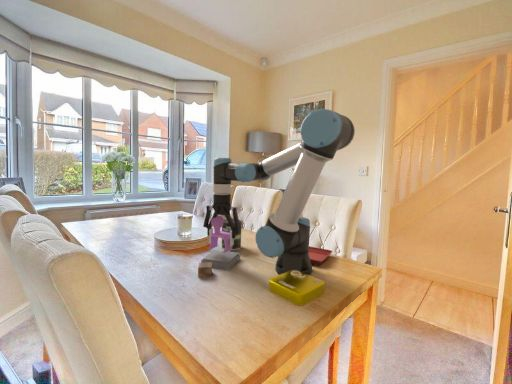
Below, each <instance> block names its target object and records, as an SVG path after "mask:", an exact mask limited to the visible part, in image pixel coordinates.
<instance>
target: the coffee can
mask: <svg viewBox="0 0 512 384" xmlns="http://www.w3.org/2000/svg"><path fill="white" fill-rule="evenodd" d="M232 220H233V222H234V218H232ZM242 223H243V220H240V219H239V224H240V229H239V230H237V231H236V237H235V238H234V245H233V246H232V250H230V251H229V252H234V251H238V250H240V249H241V248H242ZM234 225H235V223H234ZM221 231H223V232H228V233H230V231H232V230H231V228H230V225H229V223H228V221H227V219H224V223H223V226H222V227H221ZM221 249H222V250H224V249H225V242H224V240H223V239H222V238H221Z"/></svg>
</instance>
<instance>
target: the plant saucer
mask: <svg viewBox="0 0 512 384" xmlns="http://www.w3.org/2000/svg"><path fill="white" fill-rule="evenodd" d="M332 253H333V250H330V249H325V248H320V247H315V246H310V245H309V257H310V261H311V265H313V266H318V267H319V266H320V265H321V264H322V263H323V262H325V260H326V259H328V257H330V256H331V255H332Z"/></svg>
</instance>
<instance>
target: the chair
mask: <svg viewBox="0 0 512 384" xmlns="http://www.w3.org/2000/svg"><path fill="white" fill-rule="evenodd" d="M212 217H213V216H212ZM211 219H212V218H211ZM224 220H225V219H224V217H223V216H222V215H218V216H217V217H216V218H214V217H213V219H212V221H211V224H212V228H213V234H211V244H210V245H209V248H208V249H207V250H212V249H214V248H217V247H219V246H218V245H219V244H218V243H219V242H218V241H219V239H221V240H222V239H223V240H224V242H225V249H223V251H224V252H223V253H225V252H231V251H230V250H232V246H230V233H228V232H223V231H222V230H221V229H222V226H223V223H224Z"/></svg>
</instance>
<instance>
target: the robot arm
mask: <svg viewBox="0 0 512 384" xmlns="http://www.w3.org/2000/svg"><path fill="white" fill-rule="evenodd" d="M355 132H356V131H355V126H354V123H353V122H352V120H351V119H350V118H349V117H347V116H346V115H343V114H341V113H339V112H336V111H334V110H331V109H326V108H319V109H315V110H313V111H311V112H309V113H308V114H307V115H306V116H305V118H304V119H303V121H302V123H301V125H300V135H301V136H300V137H301V140H300V141H299V142H298V143H296V144H294V145H292V146H289V147H287V148H286V149H283V150H282V151H279V152H277V153H276V154H273V155H271V156H269V157H267V158H264V159H263V160H261V161H259V162H256V163H255V162H253V163H252V162H232V159H231V158H230V157H215V158H214V160H213V185H212V186H213V187H212V188H213V190H212V192H213V197H212V198H213V200H212V201H213V203H212V205H211V204H208V205H206V209H205V210H206V213H205V217H204V222H203V228H206V229H207V232H206V233H207V235H206V236H207V237H208V244H211V234H213V233H214V227H213V226H212V224H211V221H212V219H213V217H214V218H216V217H217V216H224V217H225V218H226V219H227V221H228V223H229V225H230V228H231V230H232V231H230V246H233V245H234V238H235V237H236V231H237V230H239V229H240V224H239V220H240V219H239V216H238V209H239V208H238V206H232V204H231V203H232V195H231V193H232V181H233V182H241V183H251V182H252V181H253V182H255V181H262V182H263V181H266V180H267V181H268V180H270V178H271V177H272V176H274V175H276V174H278V173H281V172H284V171H286V170H288V169H290V168H293V167H294V169H293V171H292V173H291V176H290V178H289V180H288V183H287V185H286V187H285V189H284V192H283V194H282V196H281V199H280V200H279V202H278V206H277V208H276V210H275V212H273V213H271V214H269V216H268V218H267V220H266V223H265V224H264V225H263V226H260V228H258V229H257V230H256V233H255V243H256V245H257V249H258V250H259V251H260V253H261V254H262V255H264V256H265V257H268V258H276V257H277V260H276V263H275V272H277V274H278V275H280V274H283V273H285V272H288V271H290V270H297V271H300V272H302V273H305V274H308V275H310V276H312V273H313V266H312V265H313V264H311V261H310V257H309V246H310V233H311V221H310V219H309V218H307V217H305V216H301V215H302V214H303V212H304V209H305V207H306V205H307V203H308V200H309V199H310V197H311V194H312V192H313V191H314V187H316V185H317V181H318V180H319V178H320V176H321V174H322V171H323V169H324V167H325V165H326V163H327V162H329V161H332V160H333V159H334V158H335V155H336V153H337V152H338V151H339V150H340V151H341V150H342V149H344V148H346V147H348V146H349V145H350V144H351V143H352V141H353V139H354V137H355ZM212 210H213V211H214V212H213V215H212V217H211V214H212ZM230 211H231V213H232V216H231V213H230ZM232 217H233V218H232ZM226 219H225V220H226ZM232 219H234V222H233V220H232ZM234 223H235V225H234Z"/></svg>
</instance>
